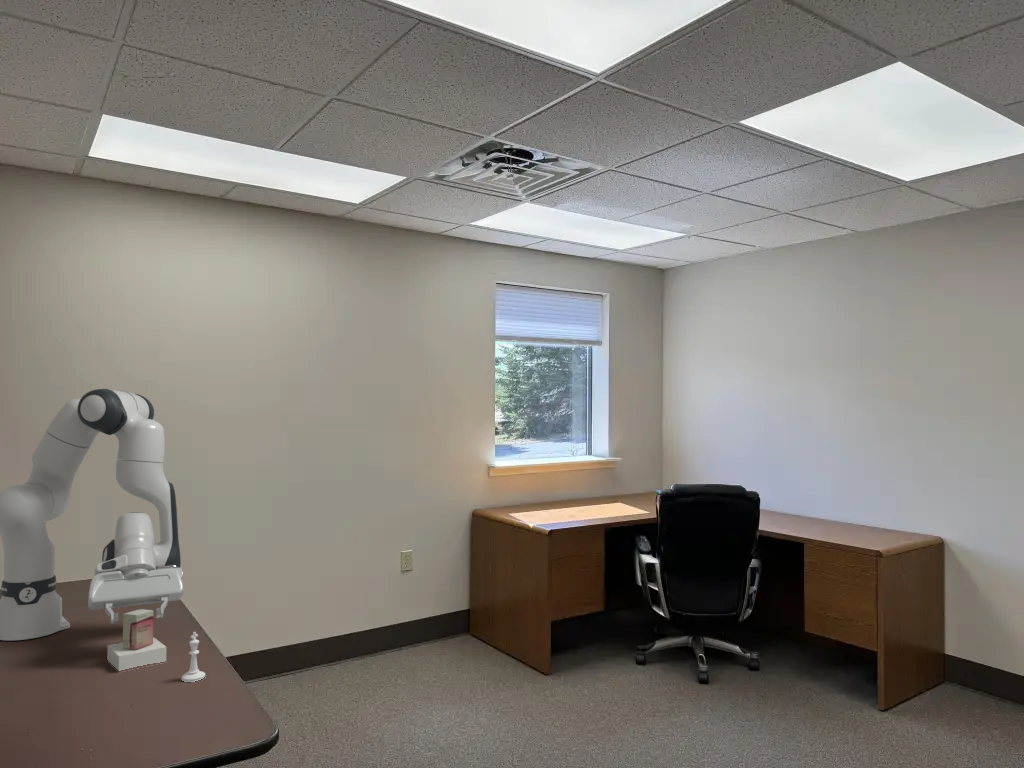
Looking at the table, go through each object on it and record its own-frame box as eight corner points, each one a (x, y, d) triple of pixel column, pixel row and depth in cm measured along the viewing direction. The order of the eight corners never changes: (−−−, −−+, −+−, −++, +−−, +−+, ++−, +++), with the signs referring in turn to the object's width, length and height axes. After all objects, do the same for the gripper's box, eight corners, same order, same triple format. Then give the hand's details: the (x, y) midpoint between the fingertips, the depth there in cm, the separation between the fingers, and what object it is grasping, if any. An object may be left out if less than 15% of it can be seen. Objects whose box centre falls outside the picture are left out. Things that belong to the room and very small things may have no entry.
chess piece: (210, 676, 162) (211, 630, 162) (194, 683, 158) (195, 636, 158) (192, 673, 164) (193, 627, 164) (175, 681, 159) (176, 634, 159)
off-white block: (107, 662, 172) (107, 645, 172) (153, 653, 178) (153, 636, 178) (118, 674, 164) (119, 656, 164) (166, 664, 171) (166, 647, 171)
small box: (135, 650, 168) (136, 615, 168) (121, 648, 170) (122, 613, 170) (153, 644, 173) (154, 609, 173) (140, 642, 174) (140, 608, 175)
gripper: (180, 571, 187) (184, 620, 178) (87, 580, 177) (87, 632, 168) (183, 557, 183) (187, 605, 175) (88, 565, 173) (88, 617, 164)
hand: (137, 619), depth 171 cm, fingers open, 8 cm apart
